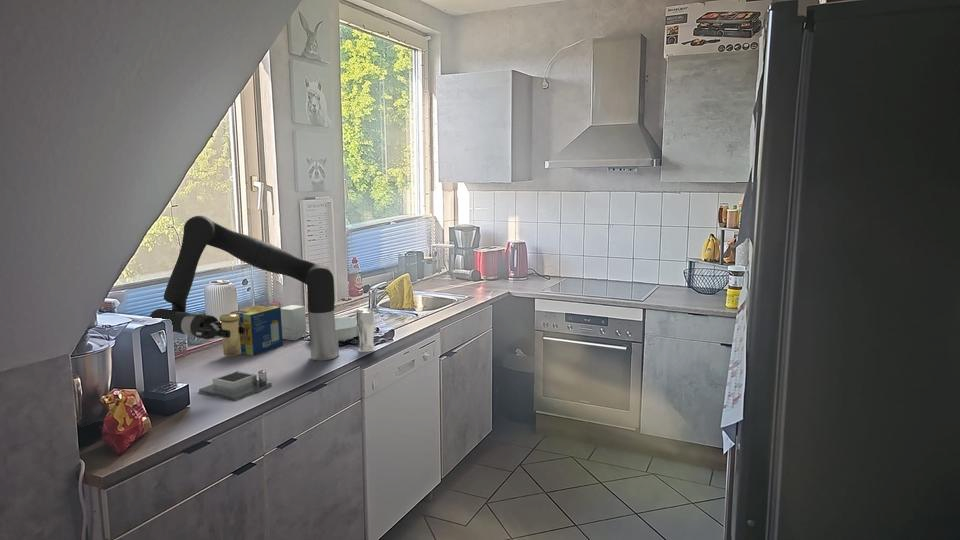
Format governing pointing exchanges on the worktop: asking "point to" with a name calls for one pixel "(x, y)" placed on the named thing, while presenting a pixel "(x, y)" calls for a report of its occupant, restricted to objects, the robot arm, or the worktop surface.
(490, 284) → the worktop surface
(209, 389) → the socket plate
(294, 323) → the supplement box
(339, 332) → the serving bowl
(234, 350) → the gold metal cylinder
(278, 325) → the protein box
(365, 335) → the beer glass
